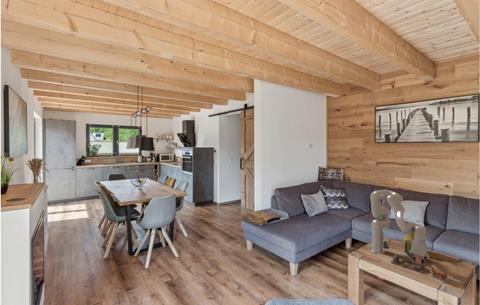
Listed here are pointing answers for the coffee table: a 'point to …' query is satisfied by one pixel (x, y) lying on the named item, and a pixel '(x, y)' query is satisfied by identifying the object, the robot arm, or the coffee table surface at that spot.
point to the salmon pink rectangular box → (418, 263)
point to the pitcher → (408, 237)
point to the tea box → (407, 248)
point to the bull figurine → (438, 273)
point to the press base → (406, 264)
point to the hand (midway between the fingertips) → (418, 262)
